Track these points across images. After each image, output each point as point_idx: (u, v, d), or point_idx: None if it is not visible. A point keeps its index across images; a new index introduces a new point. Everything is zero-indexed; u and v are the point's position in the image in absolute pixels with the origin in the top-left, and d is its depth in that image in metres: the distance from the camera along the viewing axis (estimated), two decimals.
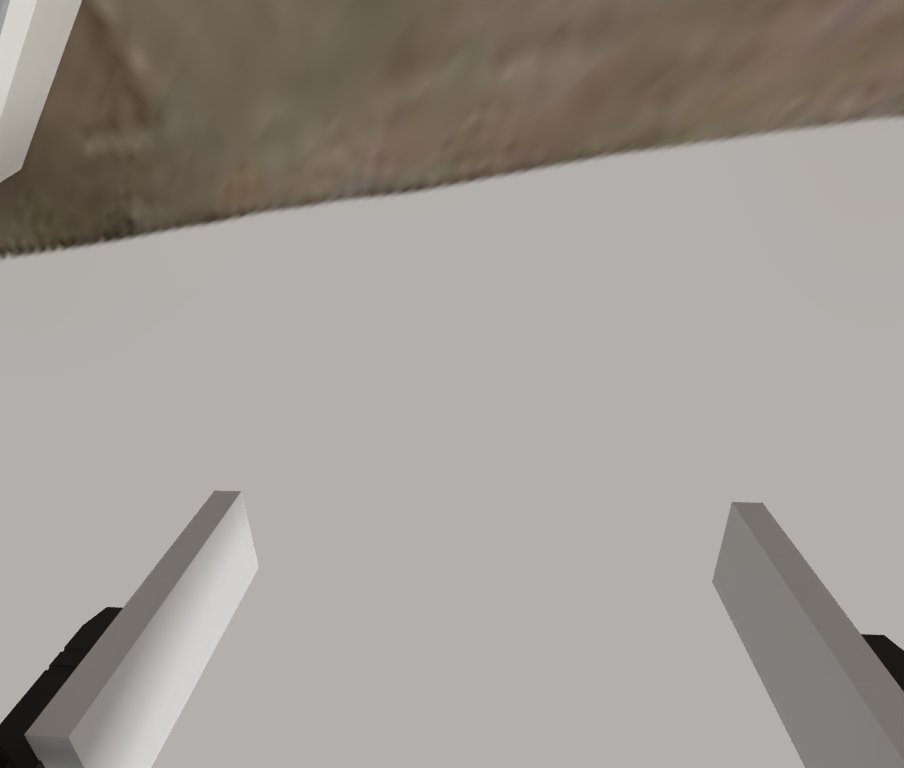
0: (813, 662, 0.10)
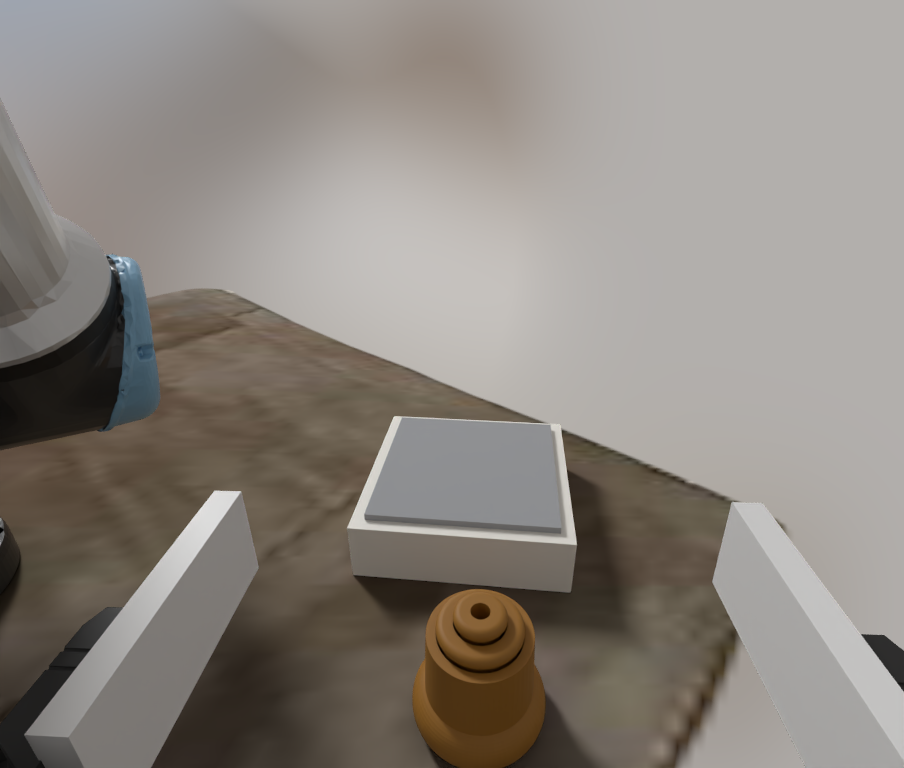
0: (813, 662, 0.10)
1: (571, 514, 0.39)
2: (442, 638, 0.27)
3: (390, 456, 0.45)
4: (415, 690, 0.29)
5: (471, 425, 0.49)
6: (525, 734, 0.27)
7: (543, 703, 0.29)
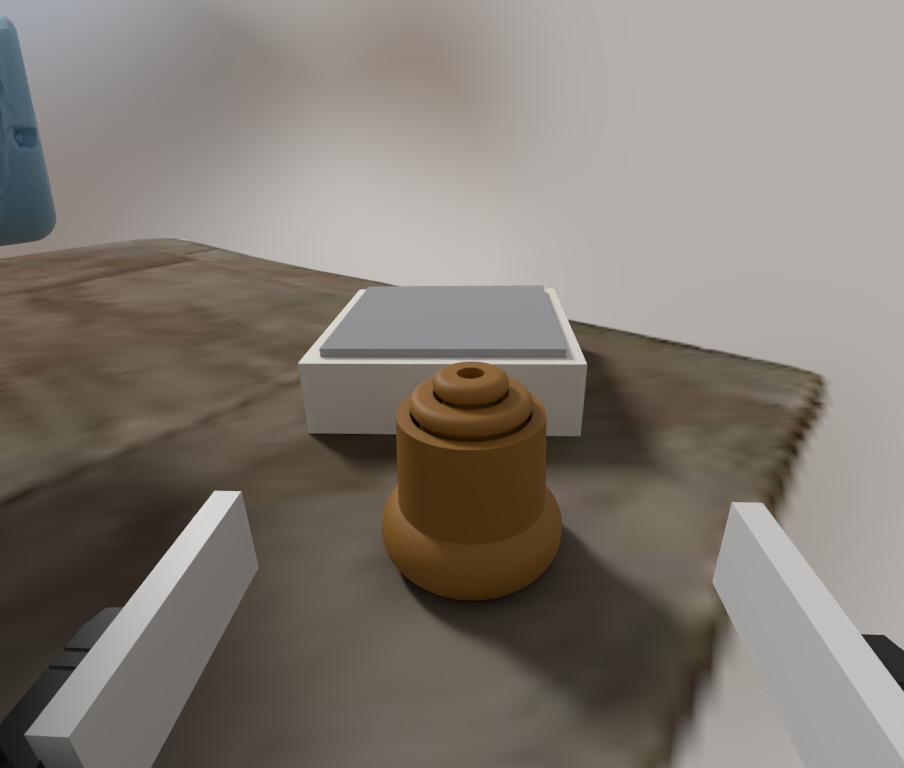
0: (813, 662, 0.10)
1: (576, 344, 0.32)
2: (418, 407, 0.19)
3: (354, 310, 0.37)
4: (385, 512, 0.22)
5: (450, 288, 0.42)
6: (538, 545, 0.20)
7: (559, 517, 0.21)
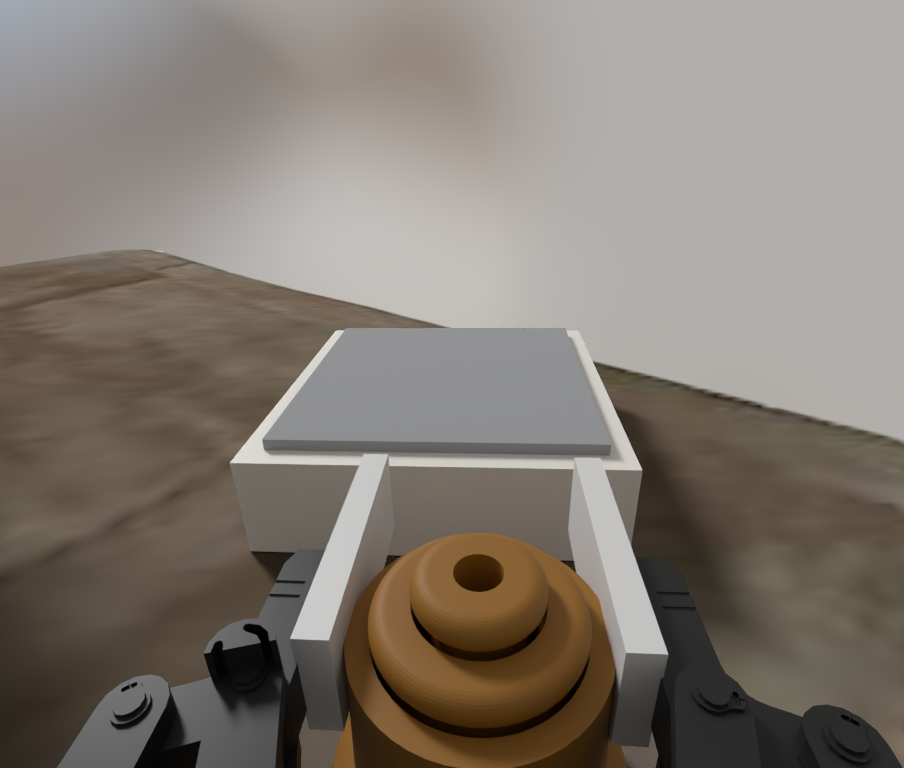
0: (598, 578, 0.12)
1: (621, 429, 0.23)
2: (382, 646, 0.10)
3: (321, 368, 0.28)
4: None
5: (448, 332, 0.33)
6: None
7: None
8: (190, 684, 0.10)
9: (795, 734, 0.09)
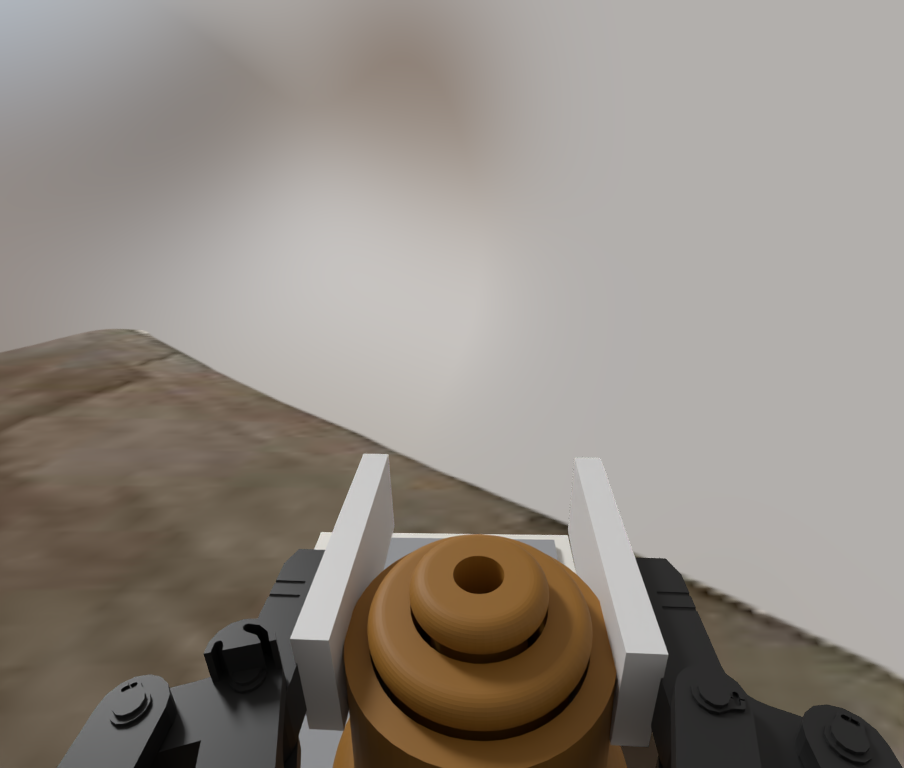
0: (598, 578, 0.12)
1: None
2: (382, 648, 0.10)
3: None
4: None
5: None
6: None
7: None
8: (190, 684, 0.10)
9: (795, 734, 0.09)
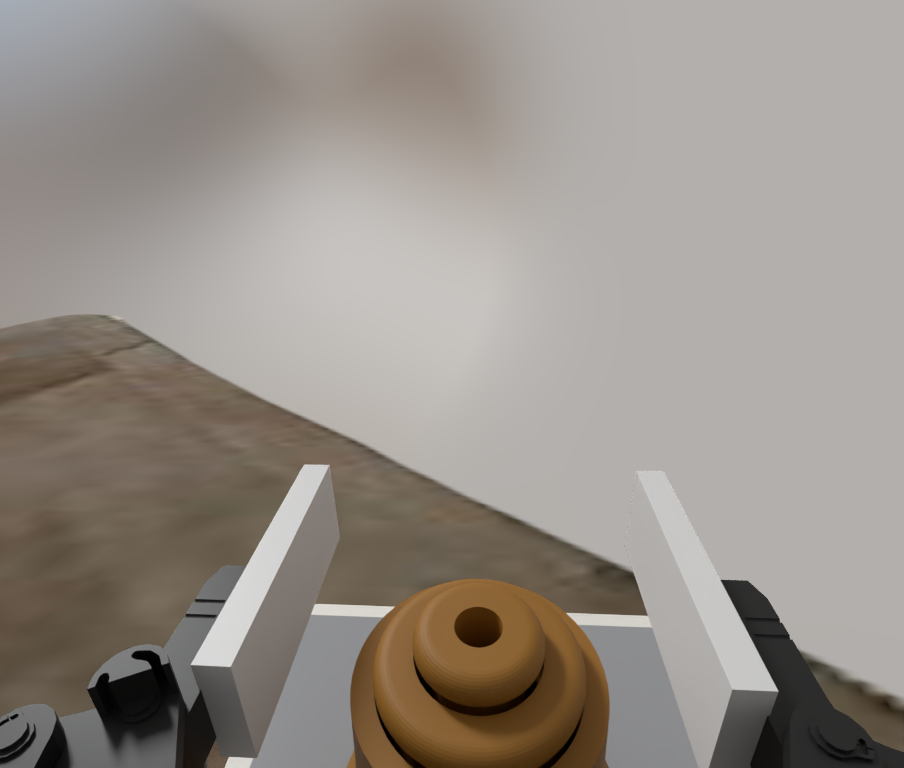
0: (679, 602, 0.11)
1: None
2: (386, 698, 0.11)
3: None
4: None
5: None
6: None
7: None
8: (85, 713, 0.10)
9: None
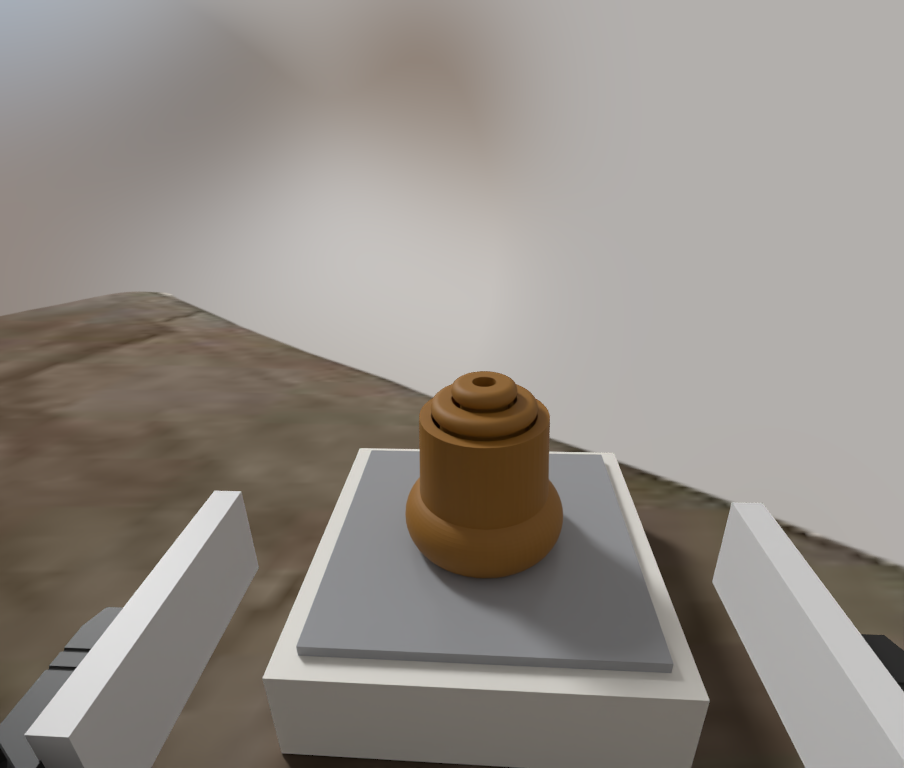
0: (813, 662, 0.10)
1: (678, 626, 0.21)
2: (439, 411, 0.22)
3: (351, 519, 0.27)
4: (408, 502, 0.25)
5: None
6: (542, 531, 0.23)
7: (560, 508, 0.24)
8: None
9: None
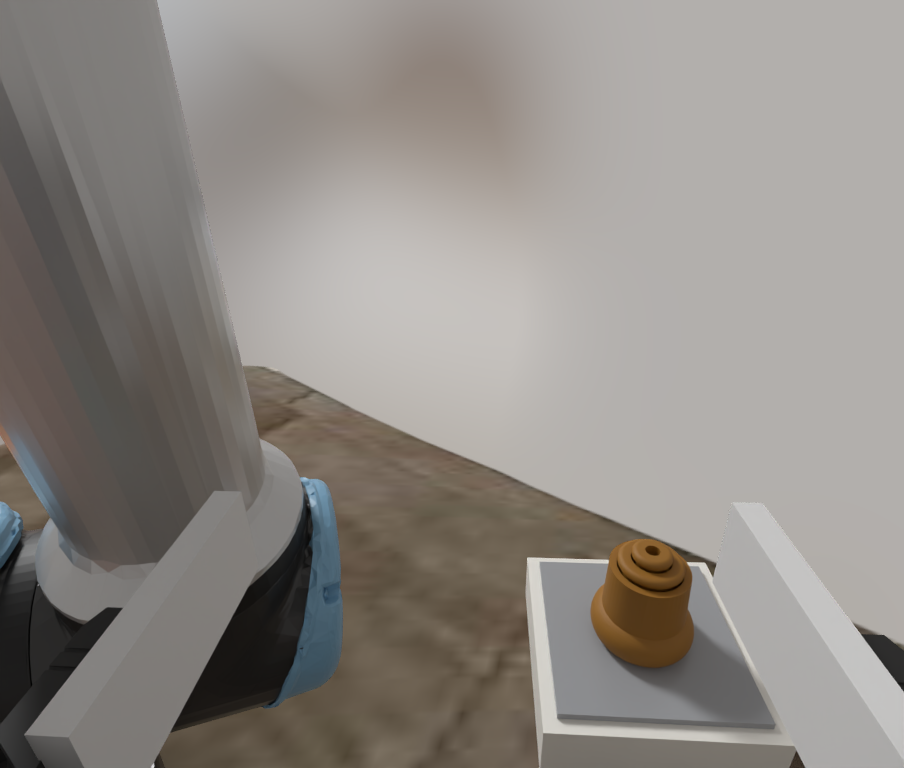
0: (813, 662, 0.10)
1: None
2: (628, 570, 0.37)
3: (550, 621, 0.42)
4: (596, 616, 0.40)
5: None
6: (687, 639, 0.38)
7: (692, 620, 0.40)
8: None
9: None
